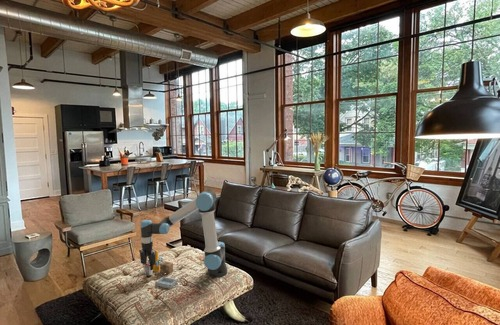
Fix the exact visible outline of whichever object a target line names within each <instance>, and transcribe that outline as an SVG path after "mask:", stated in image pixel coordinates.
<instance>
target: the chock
mask: <svg viewBox="0 0 500 325" xmlns="http://www.w3.org/2000/svg"><path fill="white" fill-rule="evenodd" d="M159 272H160V274H163V273H166V274H165V275H168V274H169V275H171V274H172V273H173V272H174V263H173V262H169V261H166V260H165V261H164V260H163V263H162V262H161V263H160V270H159ZM170 273H171V274H170Z"/></svg>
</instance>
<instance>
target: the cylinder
mask: <svg viewBox="0 0 500 325" xmlns="http://www.w3.org/2000/svg"><path fill="white" fill-rule="evenodd" d="M153 251H156V254H155V264H154V265H153V271H154V272H153V273H155V272H156V271H157V272H160V264H161V263H163V262H164V260H163V257H161V256H160V257H159V250H154V249H153ZM147 263H149V259H147ZM157 272H156V273H157Z"/></svg>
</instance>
